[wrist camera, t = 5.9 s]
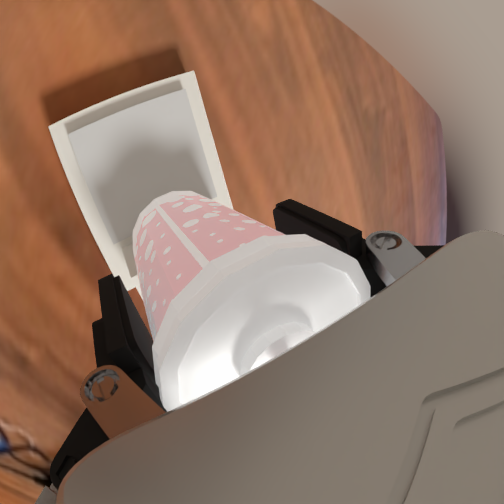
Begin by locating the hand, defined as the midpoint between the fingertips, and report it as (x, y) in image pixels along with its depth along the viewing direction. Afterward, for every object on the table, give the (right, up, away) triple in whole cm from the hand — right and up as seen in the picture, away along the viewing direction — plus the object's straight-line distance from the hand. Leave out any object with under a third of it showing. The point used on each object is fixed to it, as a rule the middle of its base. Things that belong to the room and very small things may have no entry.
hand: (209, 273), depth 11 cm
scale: (-9, +8, +18) cm, 22 cm away
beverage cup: (-2, +1, +4) cm, 4 cm away
